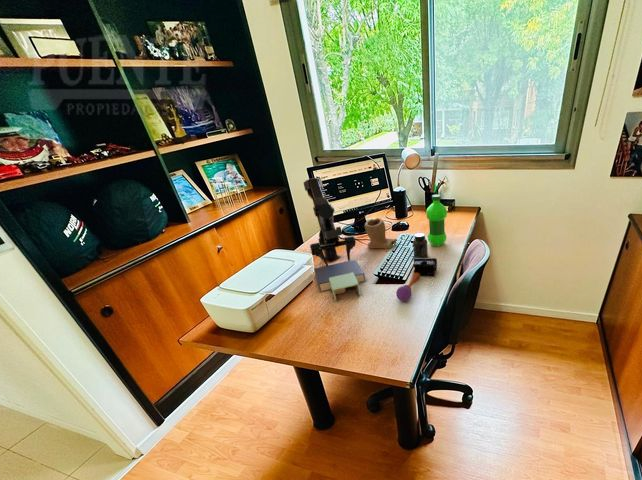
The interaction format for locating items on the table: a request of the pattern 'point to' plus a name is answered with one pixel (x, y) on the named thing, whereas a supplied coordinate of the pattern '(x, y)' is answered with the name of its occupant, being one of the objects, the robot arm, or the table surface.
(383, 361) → the table surface
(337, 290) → the cream block
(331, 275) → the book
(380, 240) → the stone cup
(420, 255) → the supplement bottle
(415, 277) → the kendama
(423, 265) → the end cap
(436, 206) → the plastic bottle
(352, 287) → the walnut block
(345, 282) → the green arch-shaped block
